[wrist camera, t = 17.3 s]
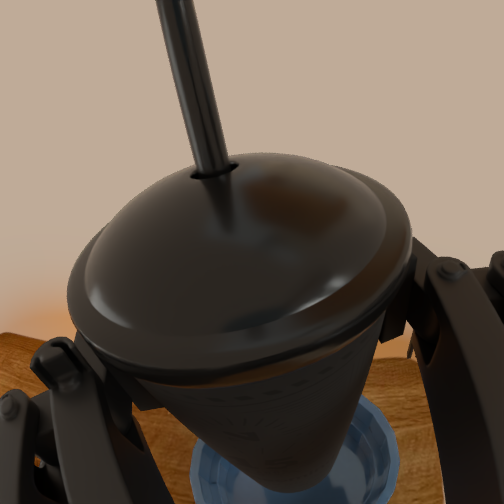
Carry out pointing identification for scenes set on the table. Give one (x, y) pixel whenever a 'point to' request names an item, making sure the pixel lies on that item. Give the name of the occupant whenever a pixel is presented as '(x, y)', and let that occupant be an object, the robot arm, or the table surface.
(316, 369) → the drinking cup
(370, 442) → the bowl
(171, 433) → the table surface
